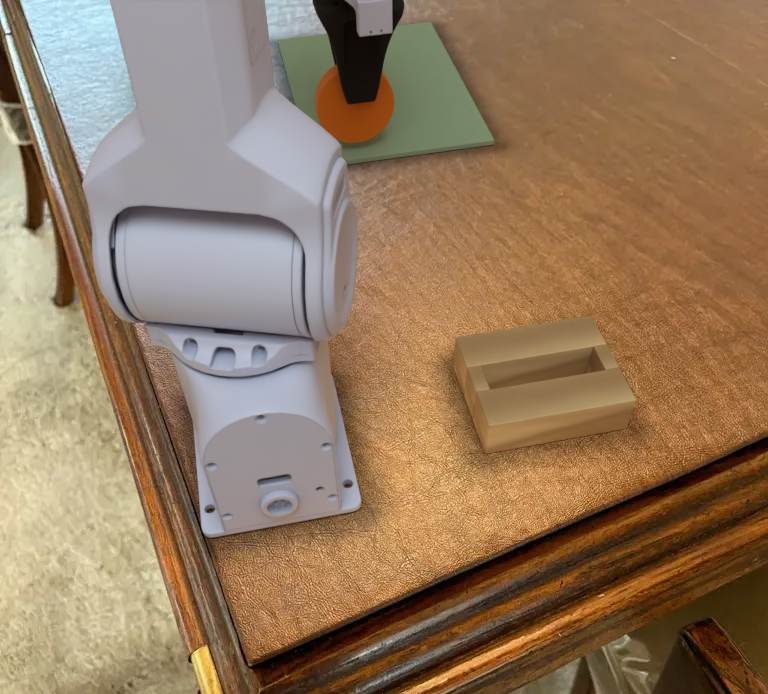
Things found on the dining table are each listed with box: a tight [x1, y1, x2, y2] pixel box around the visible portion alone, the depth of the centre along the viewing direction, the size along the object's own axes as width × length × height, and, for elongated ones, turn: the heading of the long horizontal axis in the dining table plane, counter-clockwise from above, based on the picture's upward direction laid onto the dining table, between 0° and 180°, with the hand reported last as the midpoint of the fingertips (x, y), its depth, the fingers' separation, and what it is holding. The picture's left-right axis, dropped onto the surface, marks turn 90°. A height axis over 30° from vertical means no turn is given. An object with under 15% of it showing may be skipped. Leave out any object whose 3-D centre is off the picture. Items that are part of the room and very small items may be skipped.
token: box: [315, 65, 394, 143], centre depth 57 cm, size 1×6×6 cm, turn 102°
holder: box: [452, 314, 637, 455], centre depth 44 cm, size 7×8×2 cm
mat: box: [277, 21, 495, 165], centre depth 65 cm, size 20×14×1 cm
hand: (358, 94), depth 56 cm, fingers closed on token, 1 cm apart
